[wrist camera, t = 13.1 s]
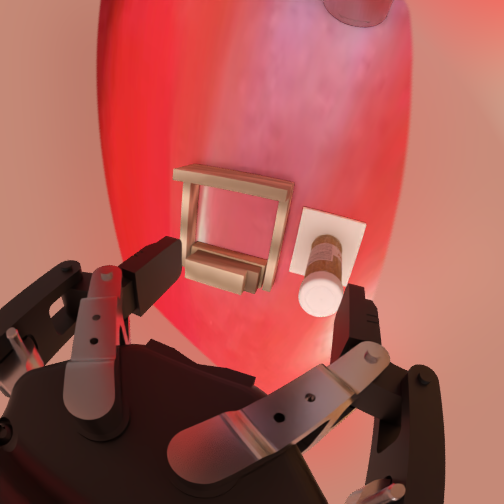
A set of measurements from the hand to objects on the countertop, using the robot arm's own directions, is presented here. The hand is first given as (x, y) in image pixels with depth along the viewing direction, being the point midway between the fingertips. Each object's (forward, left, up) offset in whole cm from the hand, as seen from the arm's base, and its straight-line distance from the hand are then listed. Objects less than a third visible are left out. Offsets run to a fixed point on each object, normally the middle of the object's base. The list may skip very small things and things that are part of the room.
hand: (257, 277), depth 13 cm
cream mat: (+8, +4, -27) cm, 28 cm away
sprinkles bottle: (+8, +4, -26) cm, 28 cm away
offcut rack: (+9, -10, -27) cm, 30 cm away
